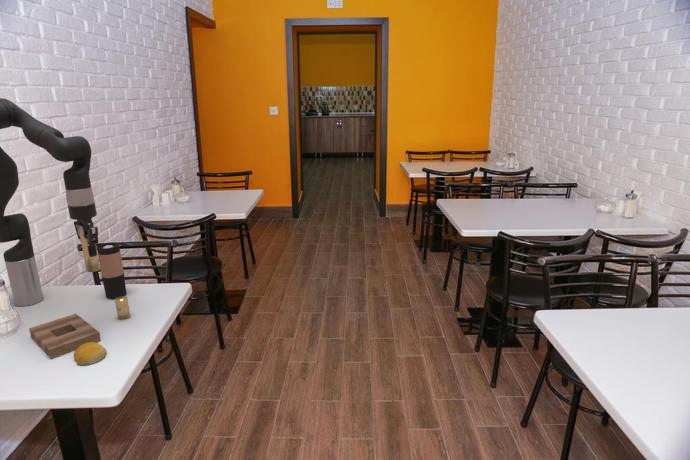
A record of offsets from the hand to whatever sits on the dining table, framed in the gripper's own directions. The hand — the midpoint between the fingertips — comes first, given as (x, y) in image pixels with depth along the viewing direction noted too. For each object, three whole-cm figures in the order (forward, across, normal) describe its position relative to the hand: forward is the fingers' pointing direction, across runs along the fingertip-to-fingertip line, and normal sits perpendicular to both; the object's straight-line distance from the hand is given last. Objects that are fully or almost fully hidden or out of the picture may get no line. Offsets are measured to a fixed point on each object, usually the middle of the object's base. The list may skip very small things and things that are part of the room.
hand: (90, 254), depth 158 cm
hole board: (+25, +1, -12) cm, 28 cm away
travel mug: (+25, -21, +13) cm, 35 cm away
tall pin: (+5, 0, 0) cm, 5 cm away
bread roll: (+25, +19, -11) cm, 33 cm away
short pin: (+25, 0, +7) cm, 26 cm away
